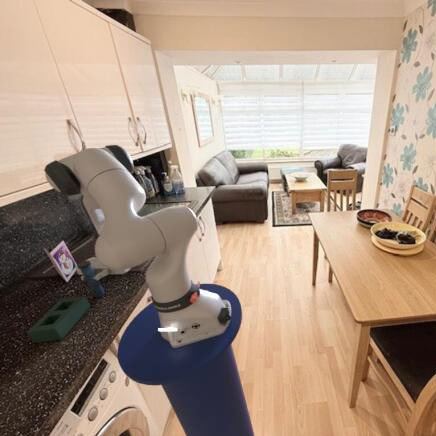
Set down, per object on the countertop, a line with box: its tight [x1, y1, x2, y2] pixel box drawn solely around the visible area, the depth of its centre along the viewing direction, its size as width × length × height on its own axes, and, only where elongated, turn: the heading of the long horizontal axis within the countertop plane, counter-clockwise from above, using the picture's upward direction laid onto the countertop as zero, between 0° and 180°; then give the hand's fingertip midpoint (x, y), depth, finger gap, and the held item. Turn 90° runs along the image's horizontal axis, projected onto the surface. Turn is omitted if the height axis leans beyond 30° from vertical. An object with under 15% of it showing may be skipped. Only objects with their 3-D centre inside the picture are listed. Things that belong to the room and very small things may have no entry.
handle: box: [77, 260, 106, 298], centre depth 91 cm, size 4×4×15 cm
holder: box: [26, 295, 91, 344], centre depth 81 cm, size 8×14×5 cm, turn 7°
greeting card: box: [42, 240, 78, 283], centre depth 103 cm, size 11×7×15 cm, turn 20°
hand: (89, 279), depth 89 cm, fingers closed on handle, 3 cm apart
